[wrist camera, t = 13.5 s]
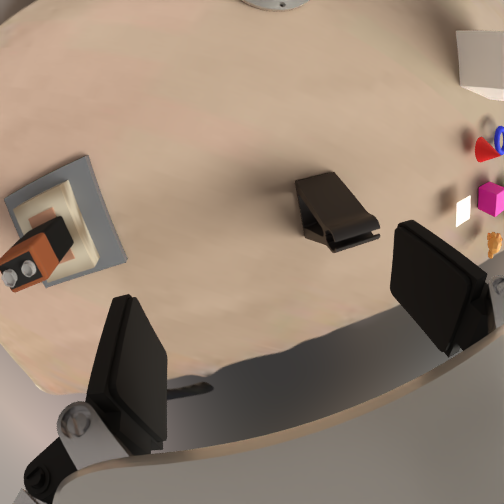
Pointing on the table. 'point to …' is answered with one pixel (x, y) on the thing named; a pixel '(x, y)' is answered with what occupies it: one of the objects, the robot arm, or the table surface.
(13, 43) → the table surface
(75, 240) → the plinth
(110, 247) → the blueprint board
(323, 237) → the phone stand
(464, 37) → the milk
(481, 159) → the shape set
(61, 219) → the battery
